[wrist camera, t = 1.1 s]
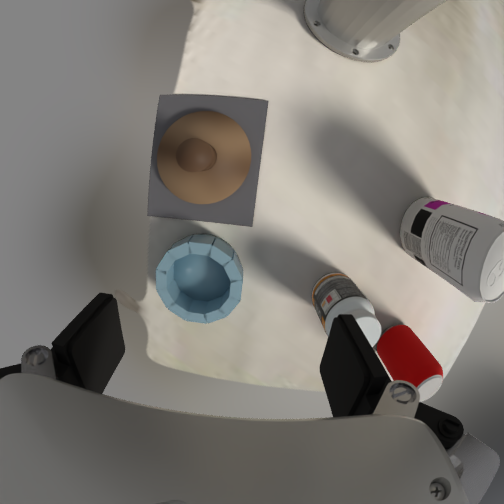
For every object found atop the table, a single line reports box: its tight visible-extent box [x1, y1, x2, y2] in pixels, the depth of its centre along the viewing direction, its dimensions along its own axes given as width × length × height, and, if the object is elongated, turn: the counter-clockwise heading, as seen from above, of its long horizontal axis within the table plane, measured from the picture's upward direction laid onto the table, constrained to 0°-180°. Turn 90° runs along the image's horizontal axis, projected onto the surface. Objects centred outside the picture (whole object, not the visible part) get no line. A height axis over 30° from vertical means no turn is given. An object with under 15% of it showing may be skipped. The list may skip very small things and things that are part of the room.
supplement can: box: [400, 197, 504, 303], centre depth 23 cm, size 8×8×15 cm
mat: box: [148, 95, 268, 227], centre depth 27 cm, size 14×12×1 cm
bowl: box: [156, 234, 243, 323], centre depth 30 cm, size 9×9×4 cm
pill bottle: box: [312, 273, 381, 347], centre depth 28 cm, size 6×6×10 cm
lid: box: [157, 111, 251, 204], centre depth 25 cm, size 10×10×6 cm
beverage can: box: [376, 325, 443, 402], centre depth 30 cm, size 6×6×12 cm
